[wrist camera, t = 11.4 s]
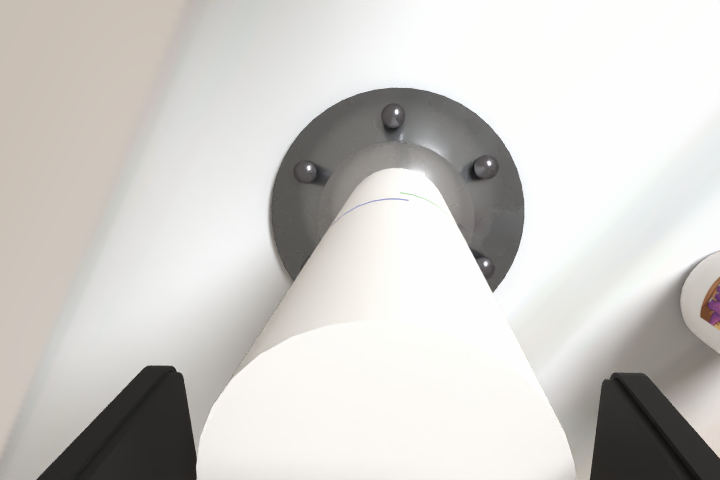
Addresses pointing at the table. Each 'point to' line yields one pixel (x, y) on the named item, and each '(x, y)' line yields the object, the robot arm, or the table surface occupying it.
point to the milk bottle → (703, 301)
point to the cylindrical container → (386, 362)
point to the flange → (408, 151)
